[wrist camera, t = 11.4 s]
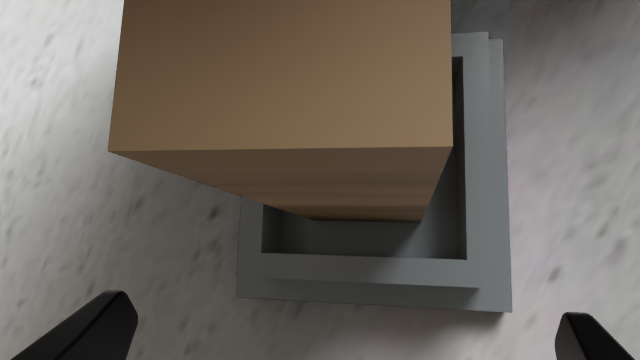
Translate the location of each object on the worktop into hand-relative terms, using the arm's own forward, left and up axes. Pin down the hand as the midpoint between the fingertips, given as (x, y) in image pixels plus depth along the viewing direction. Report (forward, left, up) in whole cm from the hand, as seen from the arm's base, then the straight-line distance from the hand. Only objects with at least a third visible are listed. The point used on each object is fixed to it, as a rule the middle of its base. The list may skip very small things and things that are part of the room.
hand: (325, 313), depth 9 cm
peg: (+4, 0, -7) cm, 9 cm away
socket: (+4, 0, -8) cm, 9 cm away
